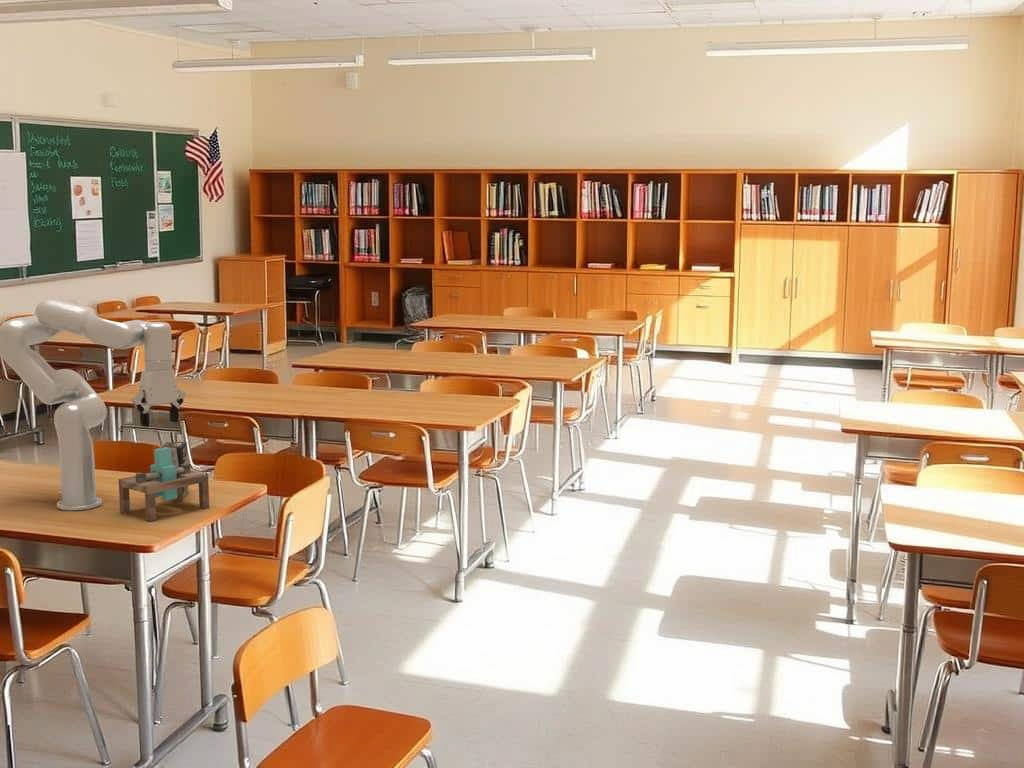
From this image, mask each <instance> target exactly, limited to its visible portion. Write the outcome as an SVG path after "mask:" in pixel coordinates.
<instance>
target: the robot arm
mask: <svg viewBox="0 0 1024 768" xmlns="http://www.w3.org/2000/svg"><path fill="white" fill-rule="evenodd" d="M62 332H66V333H70V334H74V335H79V336H81V337H84V338H85V339H87V340H88V341H89V342H92V343H95V344H97V345H100V346H105V347H107V348H112V349H117V350H127V349H131V348H135V347H140V346H143V348H144V349H143V350H144V351H143V353H144V361H143V362H144V369H143V370H142V371H141V375H140V381H139V390H138V391H139V392H138V394H136V395H135V396H133V397H132V398H131V402H132V405H133V406H134V408H135V409H136V410H137V411H138V412H139V419H140V420H139V422H140V425H141V427H146V428H148V427H150V414H149V412H148V411H149V410H150V409H151V407H154V406H162V405H163V406H164V405H169V406H170V407H169V421H170V422H173V423H178V422H179V409H180V408H181V405H182V404H183V403H184V399H185V398H186V395H187V393H186V392H185V391H183V390H181V389H179V388H178V386H177V378H176V374H175V370H174V368H173V366H174V365H175V364H176V360H175V359H173V357H172V356H173V355H172V354H173V352H172V350H173V349H172V326H171V325H170V323H168V322H165V321H164V322H163V321H152V322H151V321H147V320H143V319H141V320H140V319H133V320H128V321H123V322H117V321H113V320H108V319H106V318H102V317H99V316H98V313H97V311H96V309H94V308H92V307H90V306H87V305H86V306H85V305H82V304H80V303H79V302H78V301H77V300H76V299H74V298H72V297H70V296H65V295H64V296H56V297H49V298H45V299H43V300H41V301H40V302H39V303H38V304H37V306H36V307H35V310H34V315H28V316H21V317H15V318H12V319H11V318H10V319H8V320H7V321H5V322H4V323H2V324H1V326H0V357H1V358H2V359H3V361H4V362H5V363H6V364H7V365H8V366H9V367H10V368H11V369H12V370H13V371H14V372H15V373H16V374H17V375H18V376H19V378H20V379H21V380H22V382H23V383H24V384H25V385H26V386H27V387H28V389H30V391H31V392H32V393H33V395H34V396H35V397H36V398H37V399H38V400H39V401H41V402H42V403H43V404H45V405H55V404H60V403H61V404H60V405H59V406H58V407H57V408H56V410H55V412H54V415H53V416H54V417H53V423H54V427H55V432H56V435H57V439H58V440H57V441H58V453H59V468H60V485H61V486H60V487H61V488H60V489H61V490H59V491H58V495H59V496H61V500H59V501H57V502H56V508H57V509H59V510H62V511H83V510H89V509H95V508H97V507H100V506H101V505H102V504H103V499H102V498H100V497H97V487H96V486H97V485H96V483H97V481H96V466H95V465H96V464H95V452H94V451H95V450H94V442H93V438H92V436H91V433H90V429H92V428H95V427H98V426H100V425H101V424H102V423H103V422H104V421H105V420H106V419H107V415H108V413H107V412H108V409H107V406H106V404H105V402H104V400H103V399H102V398H101V397H100V395H98V393H97V392H96V391H95V390H94V389H93V387H92V386H91V385H90V384H89V383H88V382H87V381H86V380H85V378H84V377H83V376H82V375H81V374H79V373H78V372H77V371H75V370H72V369H71V368H62V369H61V368H60V369H54V368H53V367H52V366H51V365H50V364H49V363H48V362H47V361H46V359H45V358H44V357H43V356H42V355H40V354H39V353H38V352H36V351H35V350H34V349H32V348H30V346H32V345H33V346H34V345H38V344H43V343H45V342H48V341H49V340H51V339H53V338H54V337H56V336H57V335H58V334H60V333H62Z"/></svg>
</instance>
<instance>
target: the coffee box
mask: <svg viewBox="0 0 1024 768" xmlns="http://www.w3.org/2000/svg"><path fill="white" fill-rule="evenodd" d="M187 445H188V442H187V441H174V442H173V441H172V442H167V441H166V442H165V443H164V444H163V445H162V446H161V447H160V448H164V447H168V448H171V465H174V466H176V467H179V468H180V465H181V464H188V446H187ZM182 490H183V499H184V498H185V496H187V494H188V493H189V490H190V489H189V486H184V487H182ZM161 499H162V500H163V496H161Z"/></svg>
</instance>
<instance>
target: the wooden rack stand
mask: <svg viewBox="0 0 1024 768" xmlns="http://www.w3.org/2000/svg"><path fill="white" fill-rule="evenodd" d="M157 478H162V473H159V472H155V473H151V472H143V471H142V472H137V473H135V475H133V476H128V477H121V478H118V497H119V513H120V514H122V515H127V514H131V503H130V500H131V499H130V498H131V497H130V490H131V491H135V492H139V493H142V494H144V502H145V505H144V507H145V520H146V521H147V522H150V523H151V522H155V521H157V504H156V502H157V500H156V498H155V493H157V492H162V491H166V490H171V489H175V488H177V498H176V499H172V500H174V501H173V502H176V501H179V502H182V500H183V501H184V498H183V490H182V487H184V486H188V487H189V486H193V485H198V499H199V500H198V502H199V505H198V506H199V509H203V510H205V509H210V493H209V492H210V487H209V474H207V473H203V472H199V471H195V470H191V464H189V463H187V464H181V465H180V468H179V467H176V478H177V479H174V480H169V481H165V482H157V481H153V480H152V479H157Z"/></svg>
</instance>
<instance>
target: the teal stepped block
mask: <svg viewBox="0 0 1024 768" xmlns="http://www.w3.org/2000/svg"><path fill="white" fill-rule="evenodd" d="M153 456H154V464H150V473H155V472H159V473H162V478H157V479H152V480H153V481H157V482H165V481H169V480H174V479H177V478H176V466H174V465H171V448H168V447H164V448H161V447H158V448H154V449H153ZM162 496H163V499H162V500H163V502H164V501H165V502H167V501H171V500H173V499H176V498H177V488H175V489H171V490H166V491H162V492H157V493H155V499H156V498H159V497H162Z"/></svg>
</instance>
